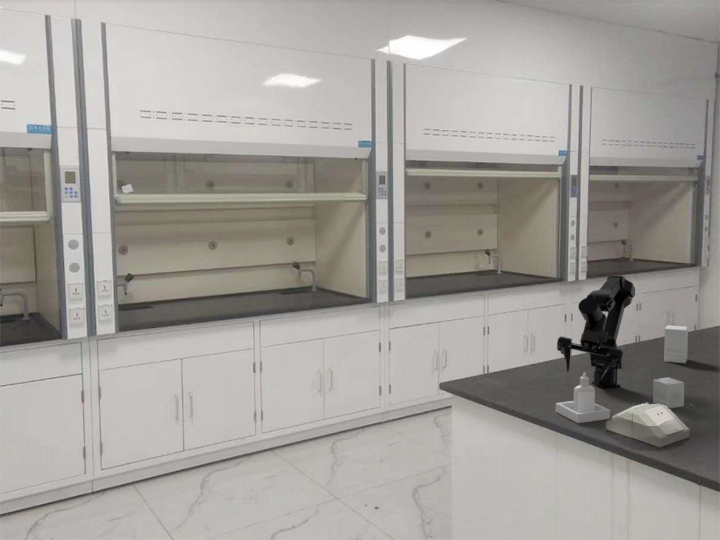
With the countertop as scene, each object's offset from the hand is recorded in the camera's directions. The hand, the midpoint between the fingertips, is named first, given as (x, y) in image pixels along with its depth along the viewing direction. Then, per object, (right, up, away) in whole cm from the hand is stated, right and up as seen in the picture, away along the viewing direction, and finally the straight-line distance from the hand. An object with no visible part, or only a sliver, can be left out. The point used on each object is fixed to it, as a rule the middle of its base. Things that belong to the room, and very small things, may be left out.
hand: (583, 376), depth 190 cm
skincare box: (+25, -9, -1) cm, 26 cm away
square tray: (-3, -10, -8) cm, 13 cm away
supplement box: (+52, -2, +48) cm, 71 cm away
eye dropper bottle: (-3, -10, -8) cm, 13 cm away
